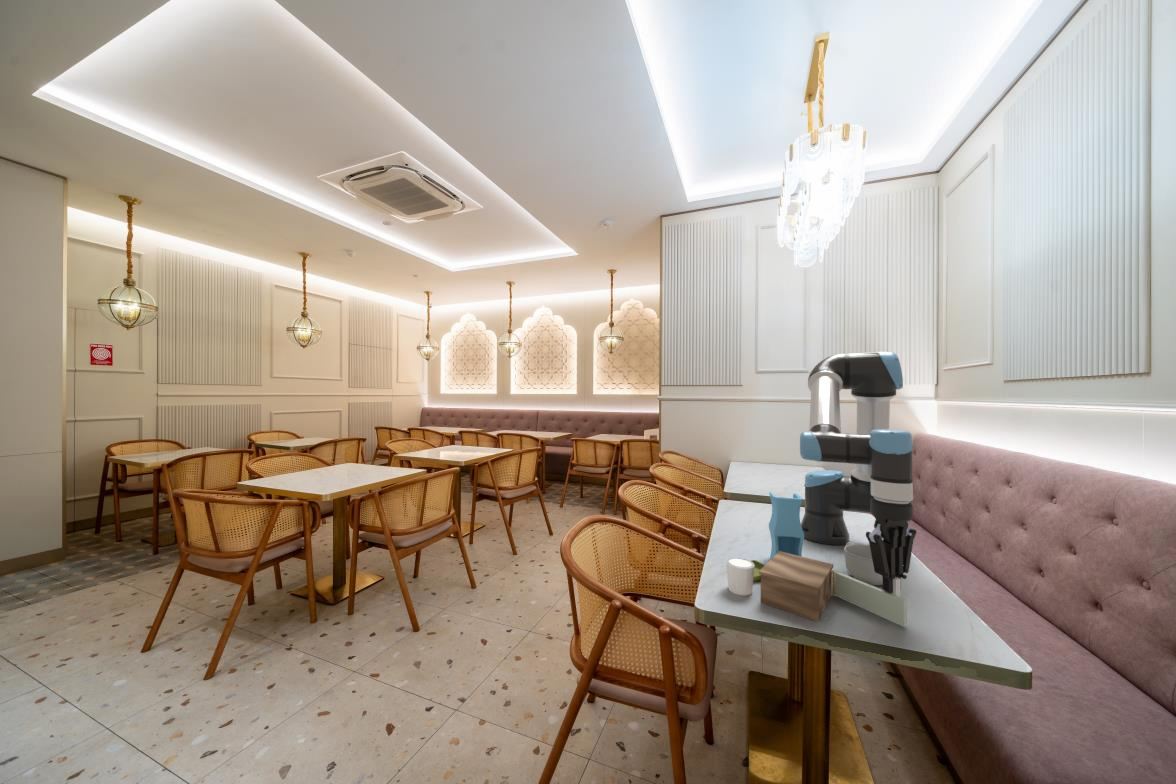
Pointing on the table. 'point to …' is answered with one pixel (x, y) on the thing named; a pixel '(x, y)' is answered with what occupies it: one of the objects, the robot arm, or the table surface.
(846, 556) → the grey oval bowl
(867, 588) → the door
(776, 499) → the blue tall holder
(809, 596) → the wood grain block
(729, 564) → the white short cylinder
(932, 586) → the table surface
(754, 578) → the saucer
